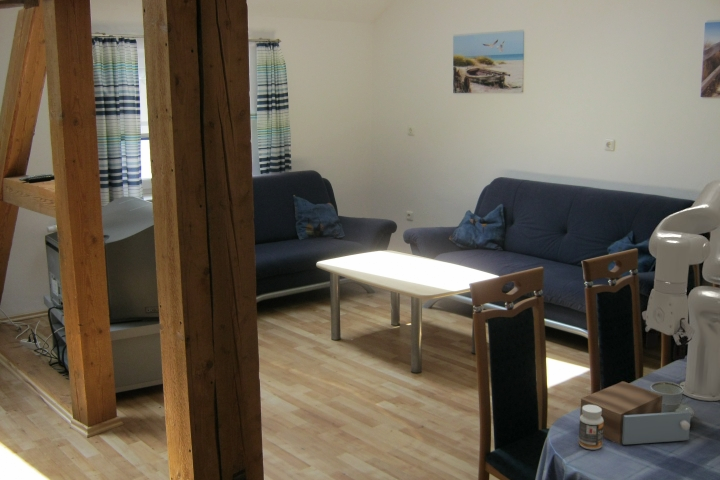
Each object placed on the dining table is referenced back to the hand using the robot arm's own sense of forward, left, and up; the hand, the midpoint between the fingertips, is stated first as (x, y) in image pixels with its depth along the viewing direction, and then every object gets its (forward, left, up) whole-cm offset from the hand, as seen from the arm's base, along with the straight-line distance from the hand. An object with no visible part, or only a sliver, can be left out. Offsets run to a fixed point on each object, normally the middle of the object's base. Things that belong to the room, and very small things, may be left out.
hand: (664, 352), depth 186 cm
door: (+6, +3, -22) cm, 23 cm away
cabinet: (+4, -9, -22) cm, 24 cm away
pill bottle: (+19, -7, -22) cm, 30 cm away
